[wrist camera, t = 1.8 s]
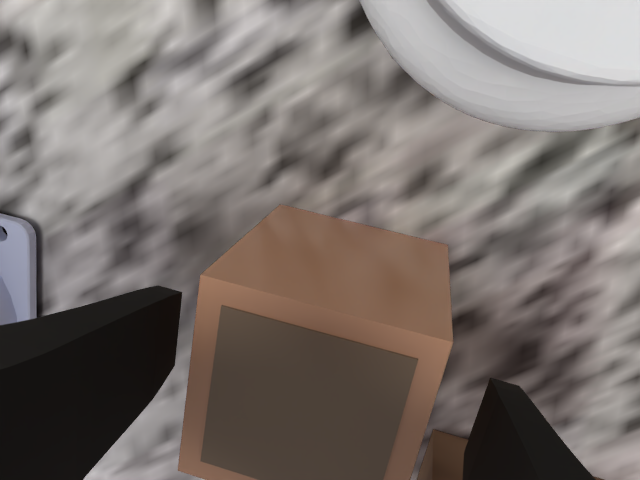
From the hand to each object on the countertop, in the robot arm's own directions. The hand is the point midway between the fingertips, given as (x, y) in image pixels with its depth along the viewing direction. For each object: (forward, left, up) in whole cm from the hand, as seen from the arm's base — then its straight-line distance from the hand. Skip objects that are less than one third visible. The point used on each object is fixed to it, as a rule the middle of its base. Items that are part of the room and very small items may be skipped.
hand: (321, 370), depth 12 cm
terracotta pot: (0, 0, -4) cm, 4 cm away
